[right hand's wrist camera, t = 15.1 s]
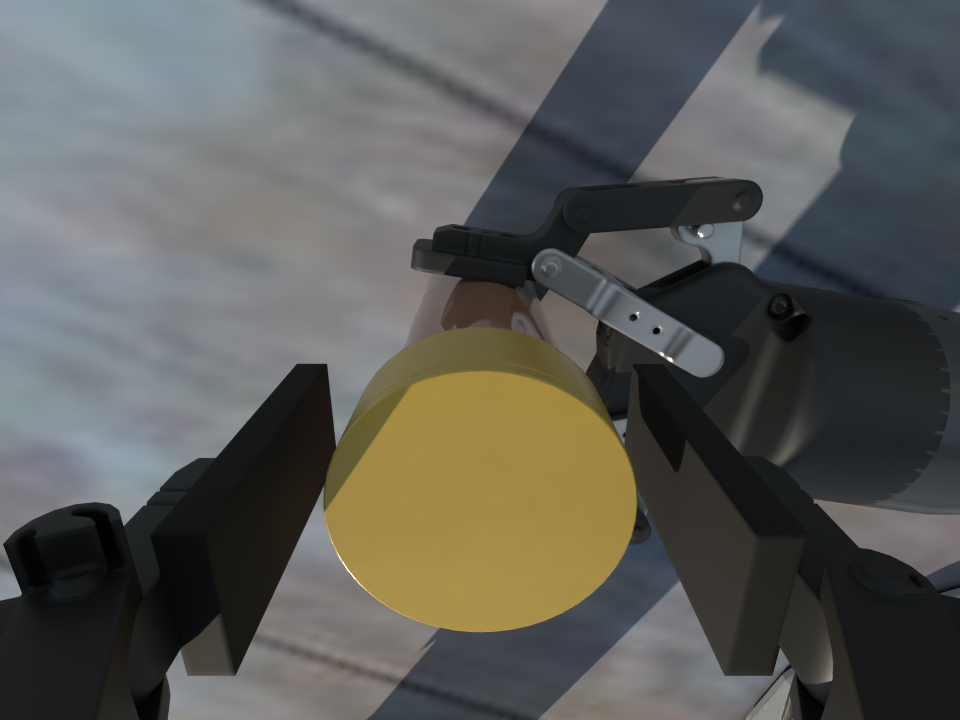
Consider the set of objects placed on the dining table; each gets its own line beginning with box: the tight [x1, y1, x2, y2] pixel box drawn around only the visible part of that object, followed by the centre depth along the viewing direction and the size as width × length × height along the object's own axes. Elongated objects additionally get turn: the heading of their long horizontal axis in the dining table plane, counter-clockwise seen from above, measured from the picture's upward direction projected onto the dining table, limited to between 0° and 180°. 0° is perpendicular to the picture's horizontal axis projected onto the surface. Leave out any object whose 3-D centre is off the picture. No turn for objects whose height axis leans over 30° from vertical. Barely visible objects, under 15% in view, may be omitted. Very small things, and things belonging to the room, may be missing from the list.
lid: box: [324, 327, 638, 632], centre depth 11 cm, size 6×6×2 cm
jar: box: [403, 273, 558, 349], centre depth 18 cm, size 5×5×16 cm
